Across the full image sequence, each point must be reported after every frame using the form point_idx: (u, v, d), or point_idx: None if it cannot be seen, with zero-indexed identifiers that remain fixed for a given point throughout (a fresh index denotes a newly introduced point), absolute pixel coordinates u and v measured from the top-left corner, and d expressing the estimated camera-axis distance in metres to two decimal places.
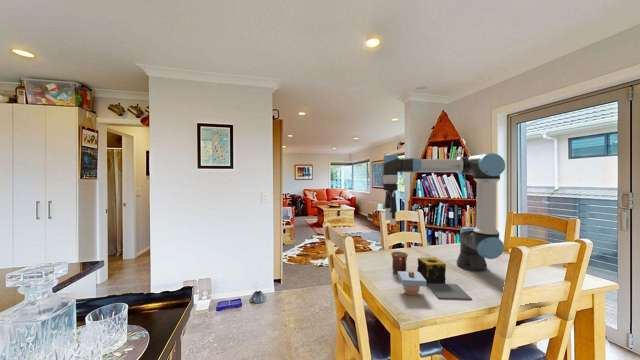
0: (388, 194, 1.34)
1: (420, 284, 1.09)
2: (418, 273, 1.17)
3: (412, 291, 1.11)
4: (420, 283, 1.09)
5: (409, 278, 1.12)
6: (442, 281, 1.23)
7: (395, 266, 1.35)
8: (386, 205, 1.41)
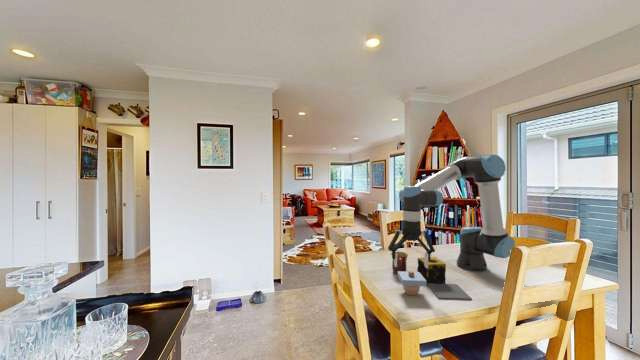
0: None
1: (420, 284, 1.09)
2: (418, 273, 1.17)
3: (412, 291, 1.11)
4: (420, 283, 1.09)
5: (409, 278, 1.12)
6: (442, 281, 1.23)
7: None
8: (424, 248, 1.14)
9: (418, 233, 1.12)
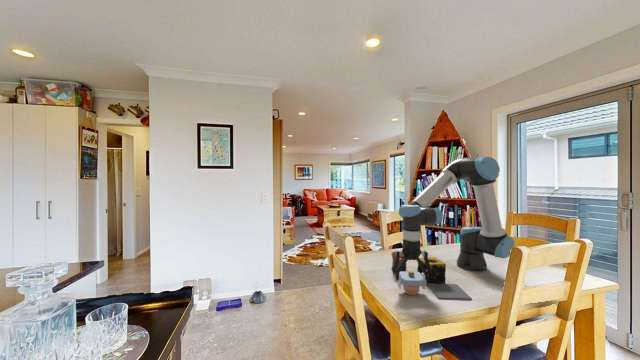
0: None
1: (420, 284, 1.09)
2: (418, 273, 1.17)
3: (412, 291, 1.11)
4: (420, 283, 1.09)
5: (409, 278, 1.12)
6: (442, 281, 1.23)
7: None
8: (421, 268, 1.15)
9: (418, 252, 1.12)
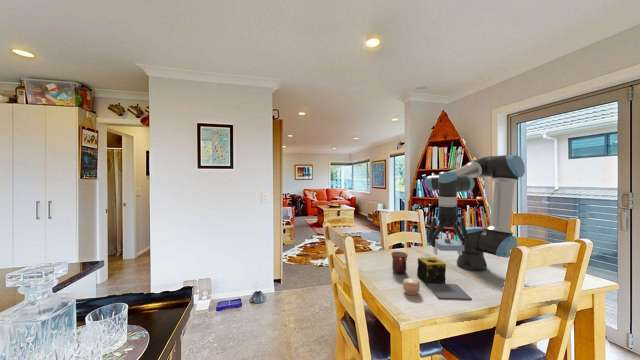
0: None
1: (458, 249, 1.09)
2: (453, 240, 1.17)
3: (412, 291, 1.11)
4: (457, 248, 1.09)
5: (446, 243, 1.12)
6: (442, 281, 1.23)
7: (395, 266, 1.35)
8: (457, 234, 1.15)
9: (455, 218, 1.13)
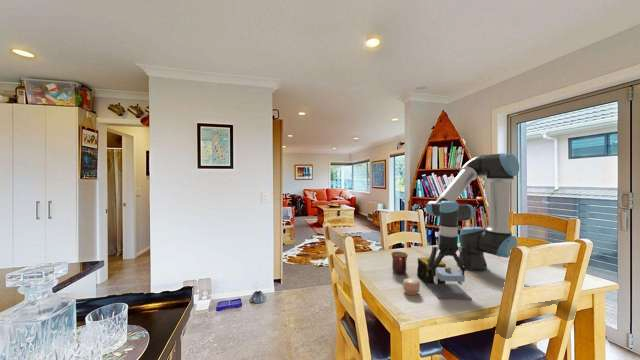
0: None
1: (458, 279, 1.09)
2: (454, 269, 1.17)
3: (412, 291, 1.11)
4: (458, 279, 1.09)
5: (446, 273, 1.12)
6: (442, 281, 1.23)
7: (395, 266, 1.35)
8: (457, 264, 1.15)
9: (455, 248, 1.13)
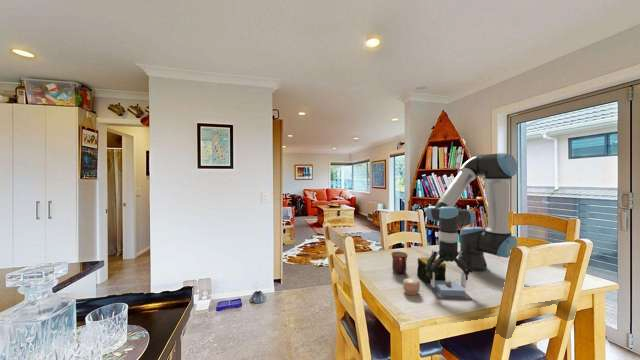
0: None
1: (458, 294, 1.10)
2: (454, 282, 1.17)
3: (412, 291, 1.11)
4: (458, 293, 1.10)
5: (447, 287, 1.12)
6: None
7: (395, 266, 1.35)
8: None
9: (455, 254, 1.13)
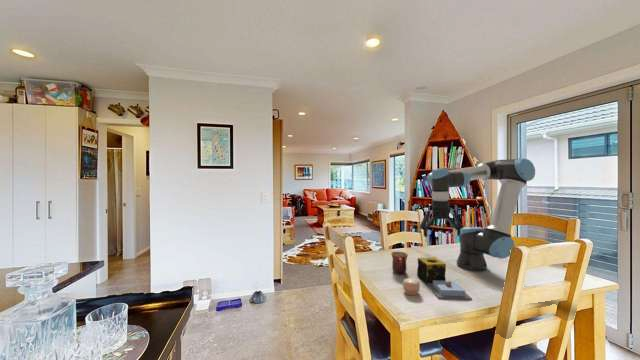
0: None
1: (458, 294, 1.10)
2: (454, 282, 1.17)
3: (412, 291, 1.11)
4: (458, 293, 1.10)
5: (447, 287, 1.12)
6: None
7: (395, 266, 1.35)
8: (452, 225, 1.24)
9: (447, 211, 1.22)
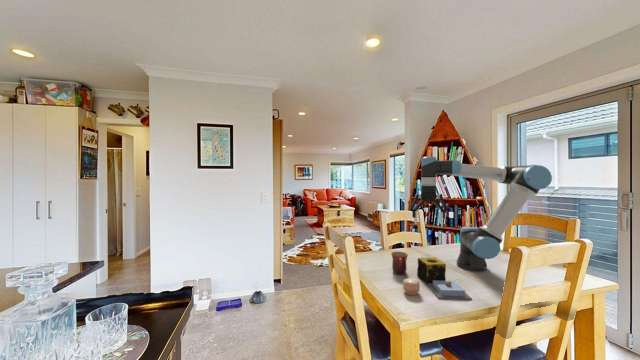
0: None
1: (458, 294, 1.10)
2: (454, 282, 1.17)
3: (412, 291, 1.11)
4: (458, 293, 1.10)
5: (447, 287, 1.12)
6: None
7: (395, 266, 1.35)
8: (439, 208, 1.38)
9: (434, 196, 1.36)
